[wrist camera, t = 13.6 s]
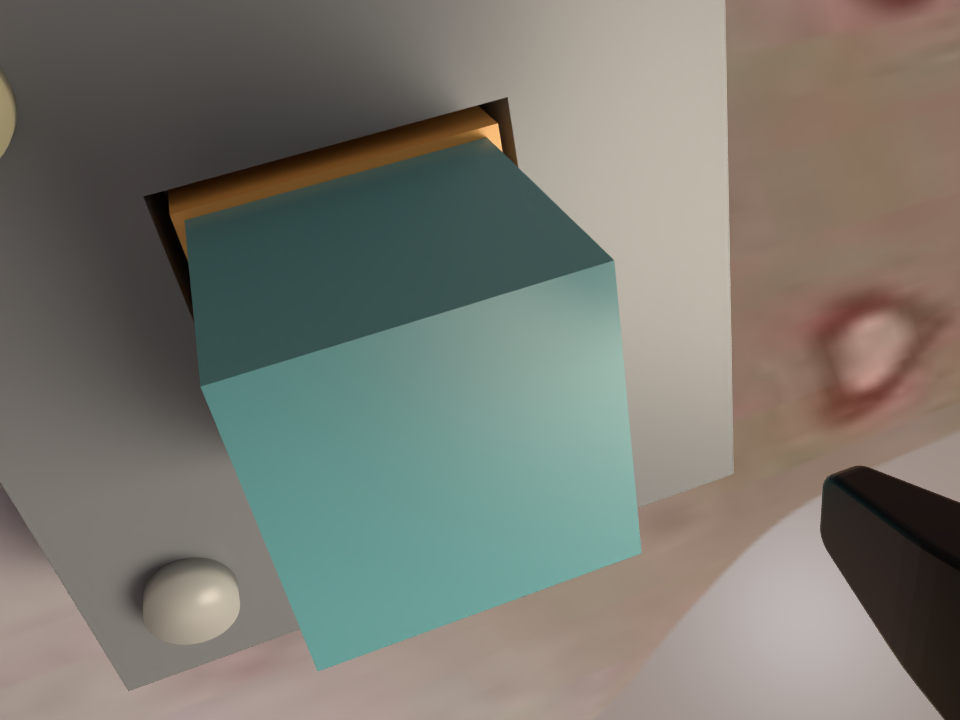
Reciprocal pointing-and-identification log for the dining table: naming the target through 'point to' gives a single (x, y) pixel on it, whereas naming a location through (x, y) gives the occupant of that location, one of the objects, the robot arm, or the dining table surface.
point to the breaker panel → (283, 133)
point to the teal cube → (416, 392)
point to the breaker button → (328, 164)
